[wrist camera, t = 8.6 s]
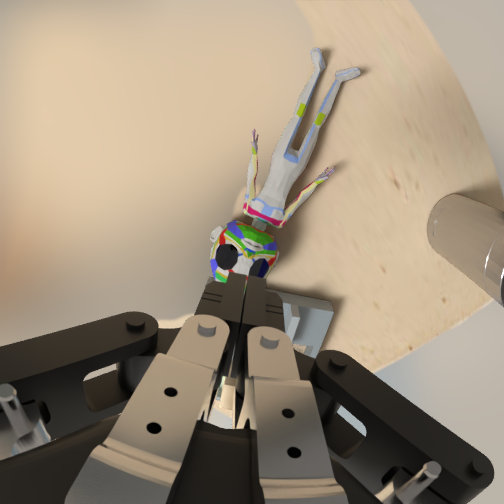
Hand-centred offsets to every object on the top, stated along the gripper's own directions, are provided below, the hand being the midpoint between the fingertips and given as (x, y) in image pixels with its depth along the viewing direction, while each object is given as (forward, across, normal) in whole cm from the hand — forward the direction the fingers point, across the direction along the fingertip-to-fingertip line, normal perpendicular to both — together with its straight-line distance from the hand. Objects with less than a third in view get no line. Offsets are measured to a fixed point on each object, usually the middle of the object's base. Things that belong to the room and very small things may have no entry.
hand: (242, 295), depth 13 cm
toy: (+27, -2, -3) cm, 28 cm away
